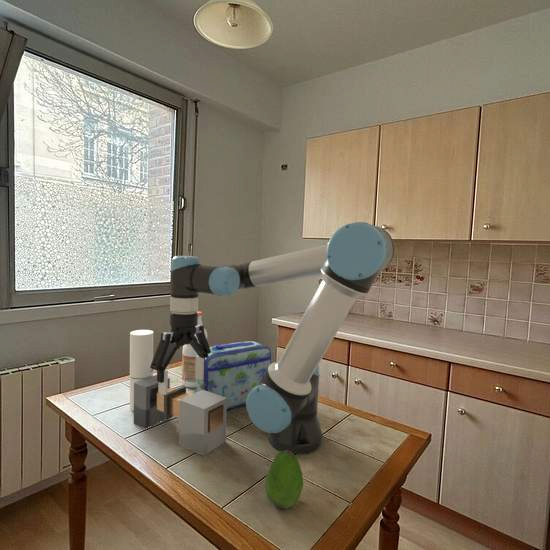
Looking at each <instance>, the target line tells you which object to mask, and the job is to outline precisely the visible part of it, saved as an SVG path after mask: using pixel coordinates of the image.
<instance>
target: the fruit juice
mask: <svg viewBox="0 0 550 550" xmlns="http://www.w3.org/2000/svg"><path fill="white" fill-rule="evenodd" d="M196 312H197V313H198V323H197V324H198V325H203V321H202V317H203V312H202V311H199V310H197V311H196ZM203 326H204V325H203ZM207 331H208V330H207V329H206V328H205V327H204V333H205V336H206V339H207V340H208V332H207ZM194 336H195V337H196V339H197V336H196V333H195V335H194ZM197 340H198V339H197ZM198 343H199V341H198ZM181 353H182V356H181V357H182V359H181V362H182V363H181V364H182V366H181V367H182V369H181V384H182V386H184V387H186V388H191V389H194V388H195V389H196V378H195V366H196V357H197V356H198V354H197V353H196V352H195V350H194V349H193V348H192V346H191V345H190V344H185V345H184V346H182V352H181Z"/></svg>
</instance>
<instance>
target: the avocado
mask: <svg viewBox="0 0 550 550" xmlns="http://www.w3.org/2000/svg"><path fill="white" fill-rule="evenodd" d="M265 476H266V477H265V483H264V484H265V490H266V495H267V498H268V500H269V501H270V502H271V503H272V504H273V505H274V506H276V507H278V508H280V509H288V508H291V507H293V506H294V505H295V504H296V503H297V502H298V500H299V498H300V496H301V493H302V492H303V491H302V490H303V488H304V478H303V472H302V467H301V466H300V463H299V461H298V457H297V456H296V454H293V453H292V452H290V451H288V450H282V451H280V450H279V452H278V453H277V454H276V456H275V457H274V459H273V460H272V463H271V465H270V466H269V470H268V472H267V473H266V475H265Z"/></svg>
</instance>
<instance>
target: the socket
mask: <svg viewBox="0 0 550 550" xmlns="http://www.w3.org/2000/svg"><path fill="white" fill-rule="evenodd" d="M170 382H171V380H170V378H169V377H168V388H170V384H171V383H170ZM158 387H159V382H157V374H155V375H153V376H152V377H149V378H146V379H143V380H140V381H137V382H135V383H134V411H133V424H134V425H135V426H138V427H140V428H142V427H143V428H142V429H144V428H145V430H147V429H149V428H151V427H153V426H155V425H157V424H159V423H161V422H160V421H162V422H163V420H164V421H166V420H165V419H164V412H162V411H160V410H157V392H158ZM158 422H159V423H158ZM154 424H155V425H154ZM150 426H151V427H150ZM148 427H149V428H148ZM146 428H147V429H146Z"/></svg>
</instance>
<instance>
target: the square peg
mask: <svg viewBox="0 0 550 550" xmlns="http://www.w3.org/2000/svg"><path fill="white" fill-rule="evenodd" d="M190 395H191V394H190V393H187V387H185V386H184V385H182V386H180V387H179V388H173V387H170V388H168V390H167V394H166V395H164V394H162V393H159V392H157V410H160V411H162V412H164V419H166V420H165V421H168V420H169V419H171V418H176V419H179V413H180V400H181V399H183V398H185V397H188V396H190ZM223 409H224V406H221V405H220V406H218V407H216V408H214V409H212V410H211V411H209V412H208V431H210V432H211V431H212V430H214V429H216V428H217V427H219V426H221V425H222V424H223Z"/></svg>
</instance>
